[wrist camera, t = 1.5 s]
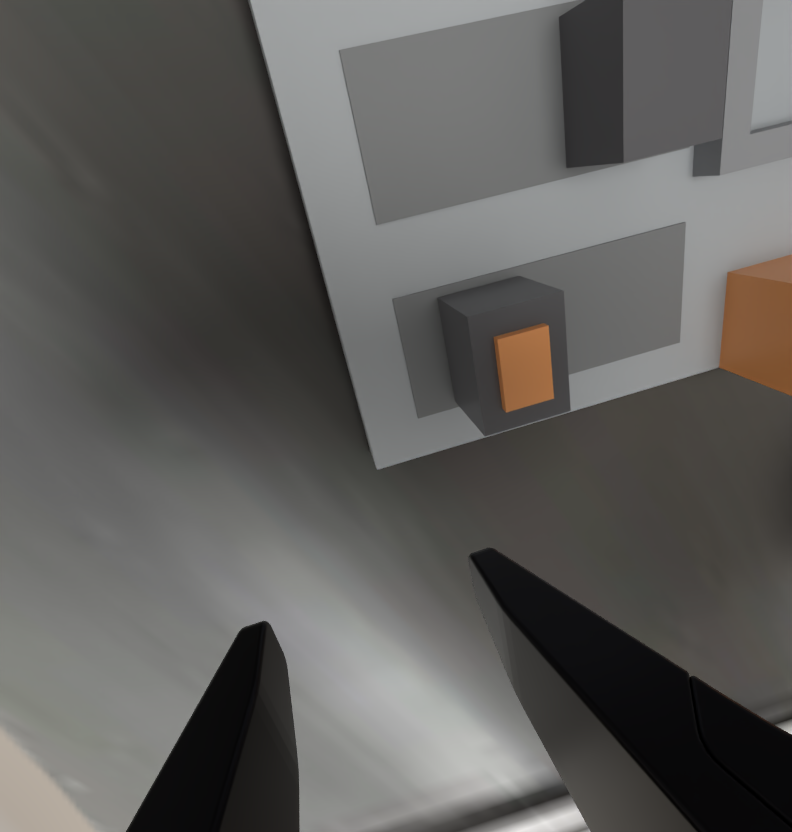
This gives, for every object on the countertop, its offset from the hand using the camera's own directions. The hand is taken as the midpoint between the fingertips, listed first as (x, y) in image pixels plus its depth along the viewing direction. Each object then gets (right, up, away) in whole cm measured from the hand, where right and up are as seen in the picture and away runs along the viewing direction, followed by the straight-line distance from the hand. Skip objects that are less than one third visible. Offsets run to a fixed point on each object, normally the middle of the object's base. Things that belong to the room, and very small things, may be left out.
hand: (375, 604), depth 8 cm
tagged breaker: (+4, +6, +10) cm, 12 cm away
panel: (+7, +11, +10) cm, 17 cm away
